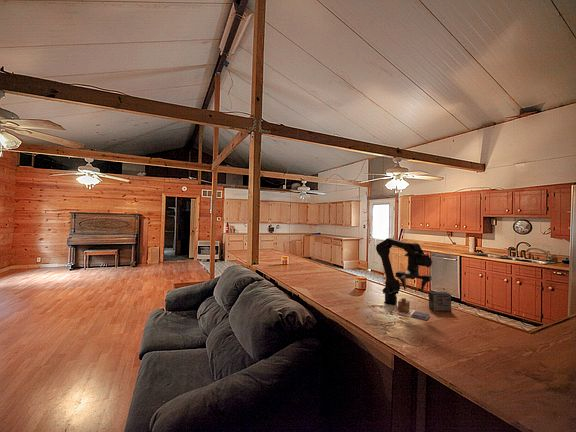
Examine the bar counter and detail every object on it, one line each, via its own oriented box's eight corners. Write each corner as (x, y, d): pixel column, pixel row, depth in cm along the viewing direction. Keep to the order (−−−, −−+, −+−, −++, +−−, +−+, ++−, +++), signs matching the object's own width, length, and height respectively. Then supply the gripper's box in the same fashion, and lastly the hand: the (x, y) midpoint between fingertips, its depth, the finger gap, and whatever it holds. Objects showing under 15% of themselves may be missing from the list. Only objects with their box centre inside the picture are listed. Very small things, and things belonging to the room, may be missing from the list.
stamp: (398, 311, 152) (397, 298, 153) (400, 309, 156) (400, 296, 156) (406, 313, 149) (406, 300, 149) (409, 311, 153) (409, 298, 153)
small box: (446, 308, 159) (446, 291, 159) (451, 312, 152) (451, 294, 153) (428, 307, 160) (428, 290, 160) (433, 311, 154) (433, 293, 154)
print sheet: (391, 312, 151) (391, 311, 151) (398, 307, 161) (398, 306, 161) (409, 316, 145) (409, 315, 145) (415, 311, 154) (415, 310, 154)
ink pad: (410, 316, 145) (410, 314, 145) (414, 313, 151) (414, 310, 151) (426, 320, 139) (426, 317, 139) (429, 316, 145) (429, 313, 145)
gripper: (392, 264, 153) (392, 290, 152) (427, 268, 140) (427, 297, 140) (398, 262, 161) (398, 287, 161) (432, 265, 149) (432, 292, 149)
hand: (413, 290), depth 152 cm, fingers open, 9 cm apart
